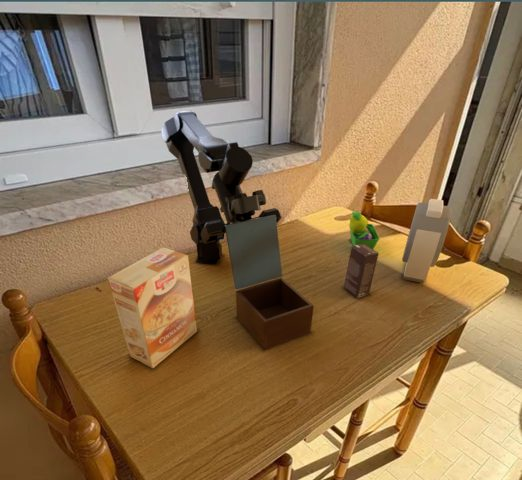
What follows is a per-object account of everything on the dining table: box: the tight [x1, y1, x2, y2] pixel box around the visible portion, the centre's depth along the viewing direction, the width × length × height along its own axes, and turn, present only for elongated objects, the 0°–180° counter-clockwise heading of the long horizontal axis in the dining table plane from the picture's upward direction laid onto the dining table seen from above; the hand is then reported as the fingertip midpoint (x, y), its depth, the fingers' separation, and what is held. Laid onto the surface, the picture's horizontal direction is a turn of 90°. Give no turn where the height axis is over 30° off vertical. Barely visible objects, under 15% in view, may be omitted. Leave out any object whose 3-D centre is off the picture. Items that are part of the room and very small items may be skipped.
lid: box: [225, 215, 283, 291], centre depth 86 cm, size 14×12×1 cm
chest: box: [235, 277, 315, 350], centre depth 88 cm, size 13×12×8 cm
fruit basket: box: [348, 211, 380, 250], centre depth 118 cm, size 11×9×11 cm
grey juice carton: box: [401, 198, 453, 284], centre depth 103 cm, size 18×8×20 cm, turn 158°
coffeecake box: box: [107, 246, 198, 369], centre depth 78 cm, size 15×7×20 cm, turn 148°
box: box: [343, 244, 380, 299], centre depth 98 cm, size 6×4×12 cm
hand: (254, 260), depth 88 cm, fingers closed
